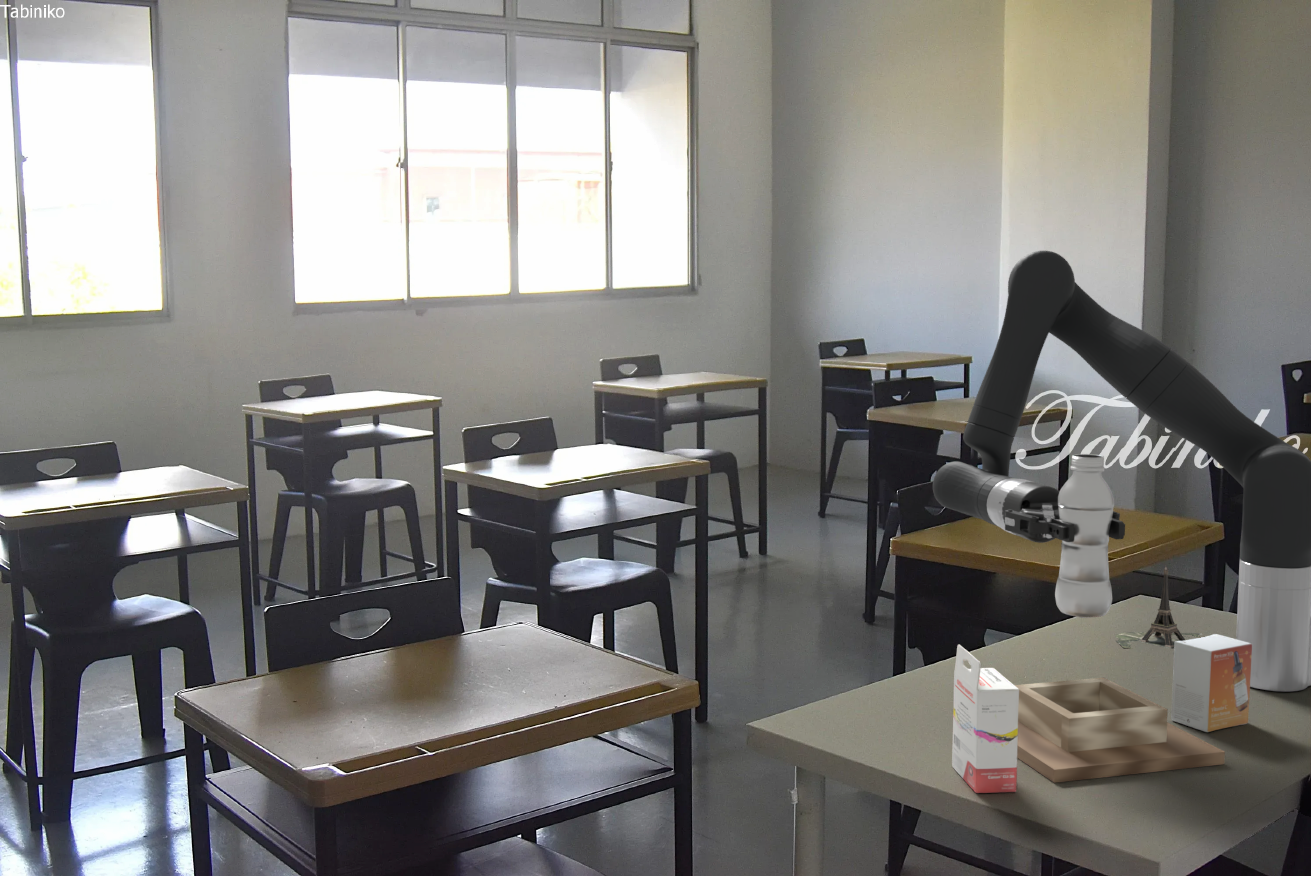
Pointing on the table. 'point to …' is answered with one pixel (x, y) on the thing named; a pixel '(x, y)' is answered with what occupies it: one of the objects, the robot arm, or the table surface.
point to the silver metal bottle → (1085, 540)
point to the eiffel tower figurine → (1157, 626)
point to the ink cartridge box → (984, 726)
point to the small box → (1211, 682)
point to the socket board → (1101, 732)
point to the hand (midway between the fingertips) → (1096, 532)
